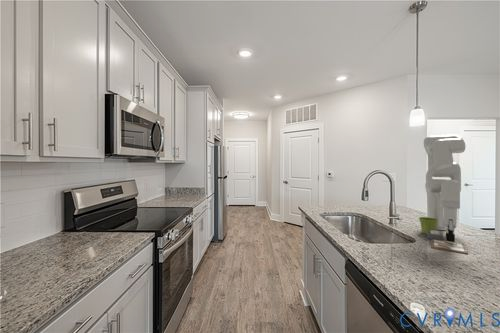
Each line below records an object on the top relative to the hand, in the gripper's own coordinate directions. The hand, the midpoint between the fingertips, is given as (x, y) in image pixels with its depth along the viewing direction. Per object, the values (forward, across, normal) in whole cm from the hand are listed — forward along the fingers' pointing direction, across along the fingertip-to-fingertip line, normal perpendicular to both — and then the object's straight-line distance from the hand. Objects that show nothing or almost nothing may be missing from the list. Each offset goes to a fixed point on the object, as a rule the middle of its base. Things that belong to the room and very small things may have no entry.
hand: (450, 240), depth 116 cm
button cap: (+1, -9, -6) cm, 11 cm away
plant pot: (+3, -19, -9) cm, 21 cm away
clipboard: (+2, +3, -1) cm, 4 cm away
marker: (+1, 0, 0) cm, 1 cm away
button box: (+2, -9, -6) cm, 11 cm away
